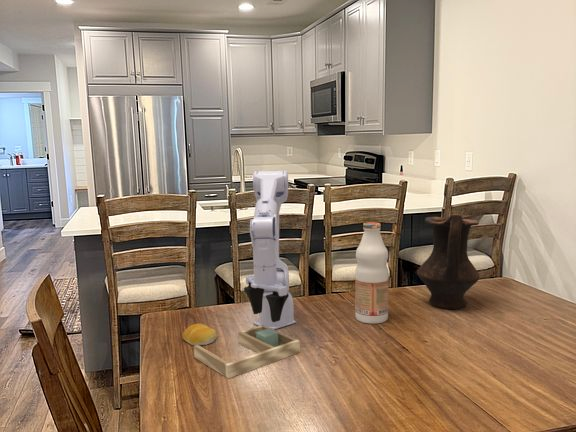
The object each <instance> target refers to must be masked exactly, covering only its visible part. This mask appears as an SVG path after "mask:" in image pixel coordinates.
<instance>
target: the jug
mask: <svg viewBox="0 0 576 432" xmlns="http://www.w3.org/2000/svg"><path fill="white" fill-rule="evenodd" d="M424 221H425V222H426V223H427V224H430V225H431V226H432V227H431V228H432V237H433V242H432V244H433V245H432V246H433V247H432V248H433V249H432V251H431V253H430V255H429V256H428V257H427V258H426V260H425V261H424V262H423V263H421V265H420V266H419V268H418V269H417V270H416V275H417V277H418V278H419V279H420V280H421V281H422V283H423V284H424V285H425V286H426V288H427V289H428V291H429V292H430V294H431V296H430V298H429V299H428V303H430V305H432V306H435V307H437V308H441V309H447V310H460V309H461V310H462V309H464V308H466V307H467V305H468V302H467V300H466V299H465V298H464V296H465V294H466V293H467V292H468V290H470V289H471V288H472V287H473V286H475V284H477V283H478V281H479V279H480V274H479V272H478V270H477V269H476V267H475V266H474V264H473V262H471V260H470V258H469V255H468V241H469V236H470V235H469V233H470V230H471V227H472V226H478V225H479V224H480V223H479V221H478V220H476V219H471V218H469V219H468V218H463V216H462V214H459V213H452V214H450V216H448V217H447V216H427V217H425V218H424Z"/></svg>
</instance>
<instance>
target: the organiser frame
mask: <svg viewBox="0 0 576 432" xmlns="http://www.w3.org/2000/svg"><path fill="white" fill-rule="evenodd" d="M266 329H270V330H273V331H275V332H277V333H278V346H277V347H273V346H271V345H269V344H267V343H265V342H263V341H261V340H259V339H256V332H259V331H262V330H266ZM237 335H238V336H237V338H238V344H239V345H241V346H243V347H245V348H247V349H248V350H251V351H252V352H255V353H254V354H251V355H248V356H246V357H242V358H240V359H236V360H233V361H231V362H228V361H226V360H224V359H223V358H222V357H219V356H218V355H216V354H214V353H213V352H211V351H210V350H207V349H206V348H204V347H202V345H195V346H194V345H193V355H194V356H193V357H194V358H195V359H196V360H197V361H199V362H201V363H203V364H204V365H206V366H208V367H209V368H210V369H212V370H214V371H216V372H218V374H220V375H222V376H223V377H225V378H226V379H230V378H235V377H236V375H237V376H239V375H241V374H244V373H247V371H248V372H250V371H252V370H256V369H259V368H261V367H264V366H266V365H269V364H272V363H274V362H277V361H280V360H283V359H285V358H288V357H290V356H291V357H292V356H293V355H297V354H299V353H301V341H300V340H299V339H297V338H294V337H292V336H290V335H288V334H285V333H284V332H281V331H278V330H276V329H272V328H269V327H267V326H265V325H261V326H258V325H257V326H256V327H255V326H254V327H251V328H249V329H248V328H247V329H245V330H241V331H238V333H237Z"/></svg>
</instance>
